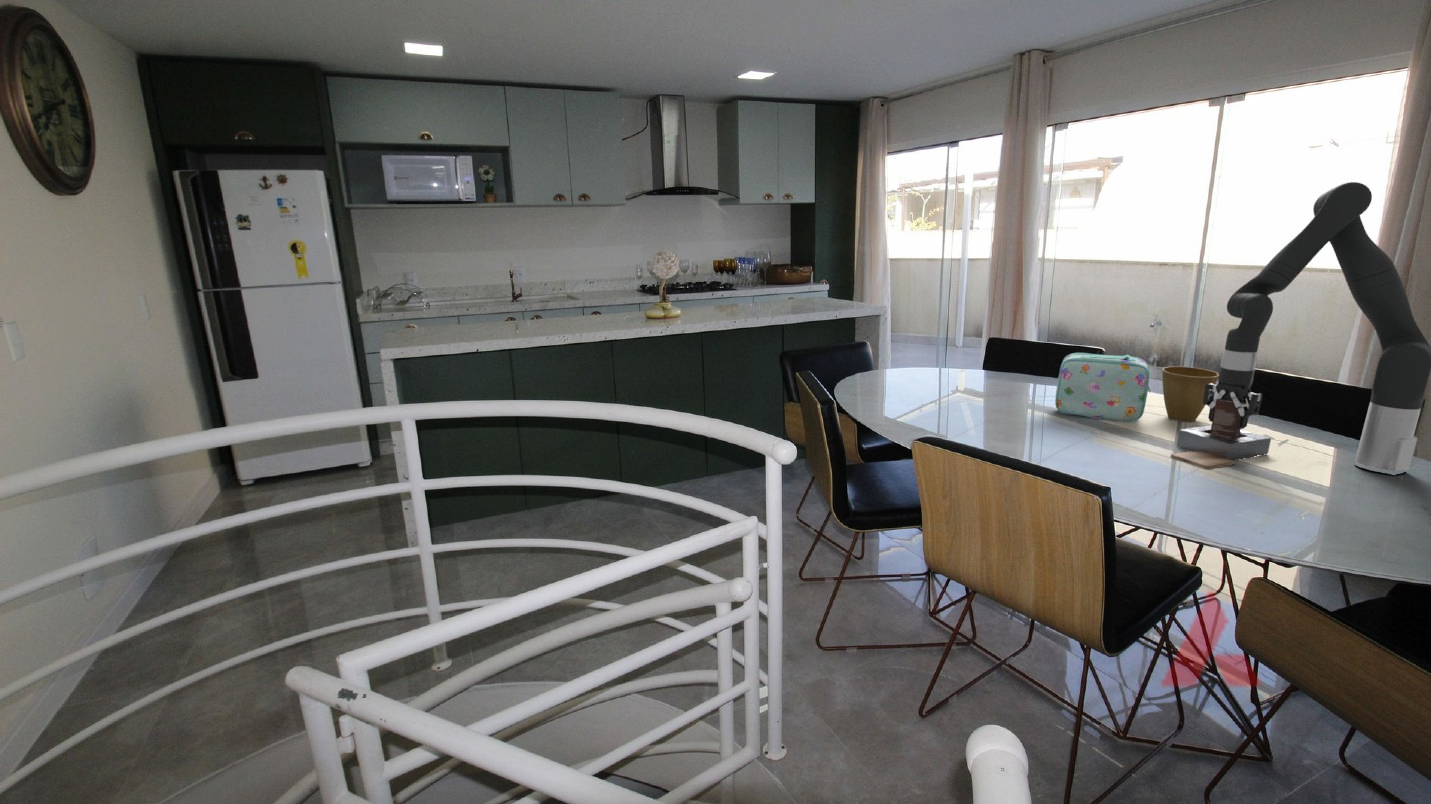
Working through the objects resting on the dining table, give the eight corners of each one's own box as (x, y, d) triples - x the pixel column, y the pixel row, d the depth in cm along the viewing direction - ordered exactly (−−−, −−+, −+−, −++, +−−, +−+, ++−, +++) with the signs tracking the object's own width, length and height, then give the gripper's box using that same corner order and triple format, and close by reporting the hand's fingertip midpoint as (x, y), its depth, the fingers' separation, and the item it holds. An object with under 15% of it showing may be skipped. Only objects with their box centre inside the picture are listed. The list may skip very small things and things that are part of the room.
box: (1238, 442, 186) (1247, 400, 183) (1233, 445, 184) (1242, 403, 181) (1212, 437, 191) (1220, 396, 188) (1207, 440, 188) (1215, 399, 185)
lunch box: (1145, 417, 220) (1156, 353, 214) (1146, 426, 211) (1157, 359, 205) (1055, 407, 233) (1063, 346, 227) (1052, 414, 224) (1060, 352, 219)
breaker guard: (1267, 455, 184) (1271, 437, 183) (1226, 462, 179) (1229, 443, 178) (1216, 440, 197) (1219, 423, 196) (1176, 446, 192) (1179, 428, 191)
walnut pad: (1233, 464, 177) (1234, 461, 177) (1206, 469, 174) (1207, 466, 174) (1197, 452, 186) (1197, 450, 186) (1170, 456, 183) (1171, 454, 183)
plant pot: (1144, 416, 221) (1152, 369, 217) (1172, 410, 227) (1180, 364, 223) (1191, 428, 208) (1200, 378, 204) (1220, 421, 214) (1229, 373, 210)
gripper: (1275, 370, 176) (1263, 430, 181) (1220, 360, 189) (1210, 416, 194) (1256, 373, 174) (1243, 433, 178) (1201, 362, 187) (1191, 419, 191)
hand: (1226, 424), depth 186 cm, fingers closed on box, 7 cm apart
